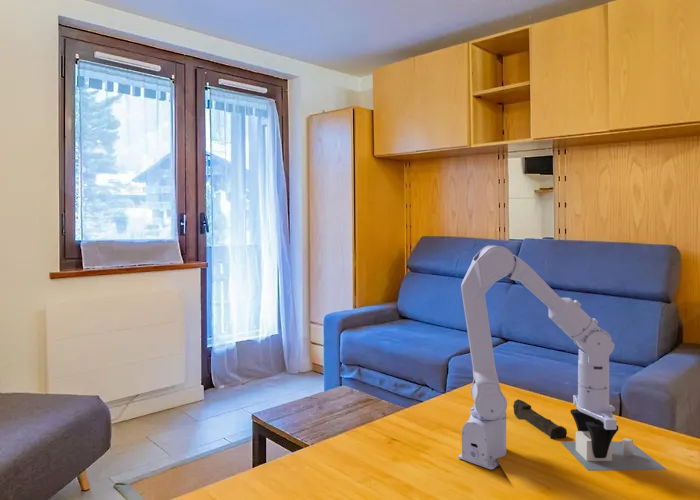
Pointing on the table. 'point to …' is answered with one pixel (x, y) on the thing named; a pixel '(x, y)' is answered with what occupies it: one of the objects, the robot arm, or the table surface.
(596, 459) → the hollow square block
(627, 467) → the plate
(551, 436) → the hand tool
